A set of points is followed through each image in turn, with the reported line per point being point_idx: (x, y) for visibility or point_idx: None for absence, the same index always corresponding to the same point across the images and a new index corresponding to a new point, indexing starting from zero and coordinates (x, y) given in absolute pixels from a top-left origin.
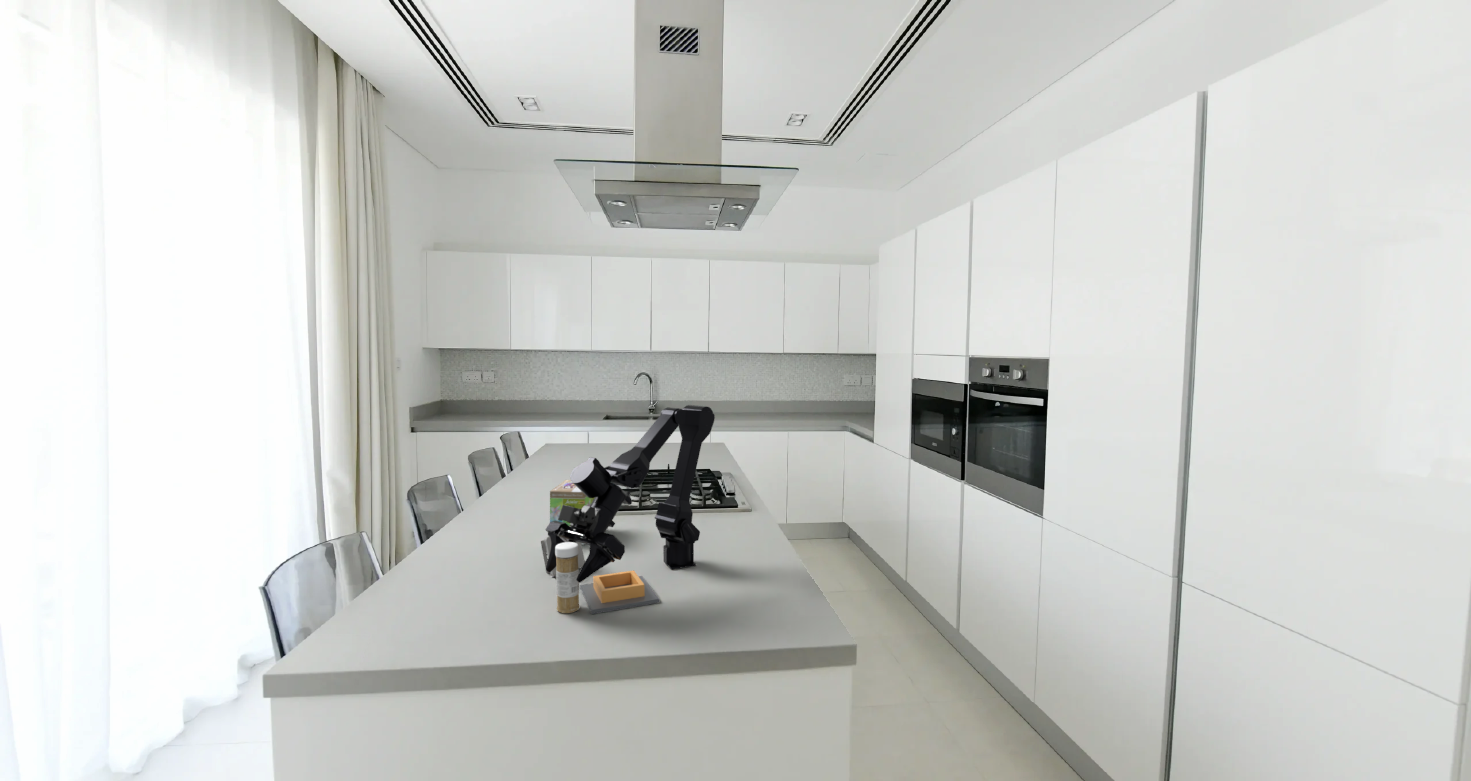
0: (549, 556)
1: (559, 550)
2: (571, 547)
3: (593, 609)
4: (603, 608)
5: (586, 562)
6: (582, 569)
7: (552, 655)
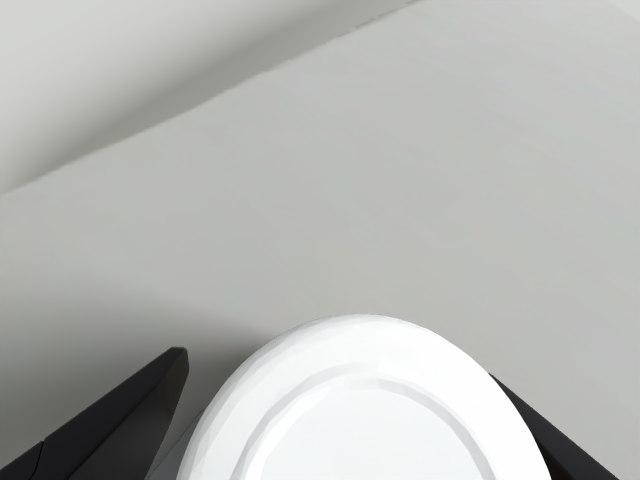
0: (583, 455)
1: (340, 315)
2: (204, 464)
3: (197, 420)
4: (165, 458)
5: (56, 460)
6: (121, 397)
7: (153, 147)
